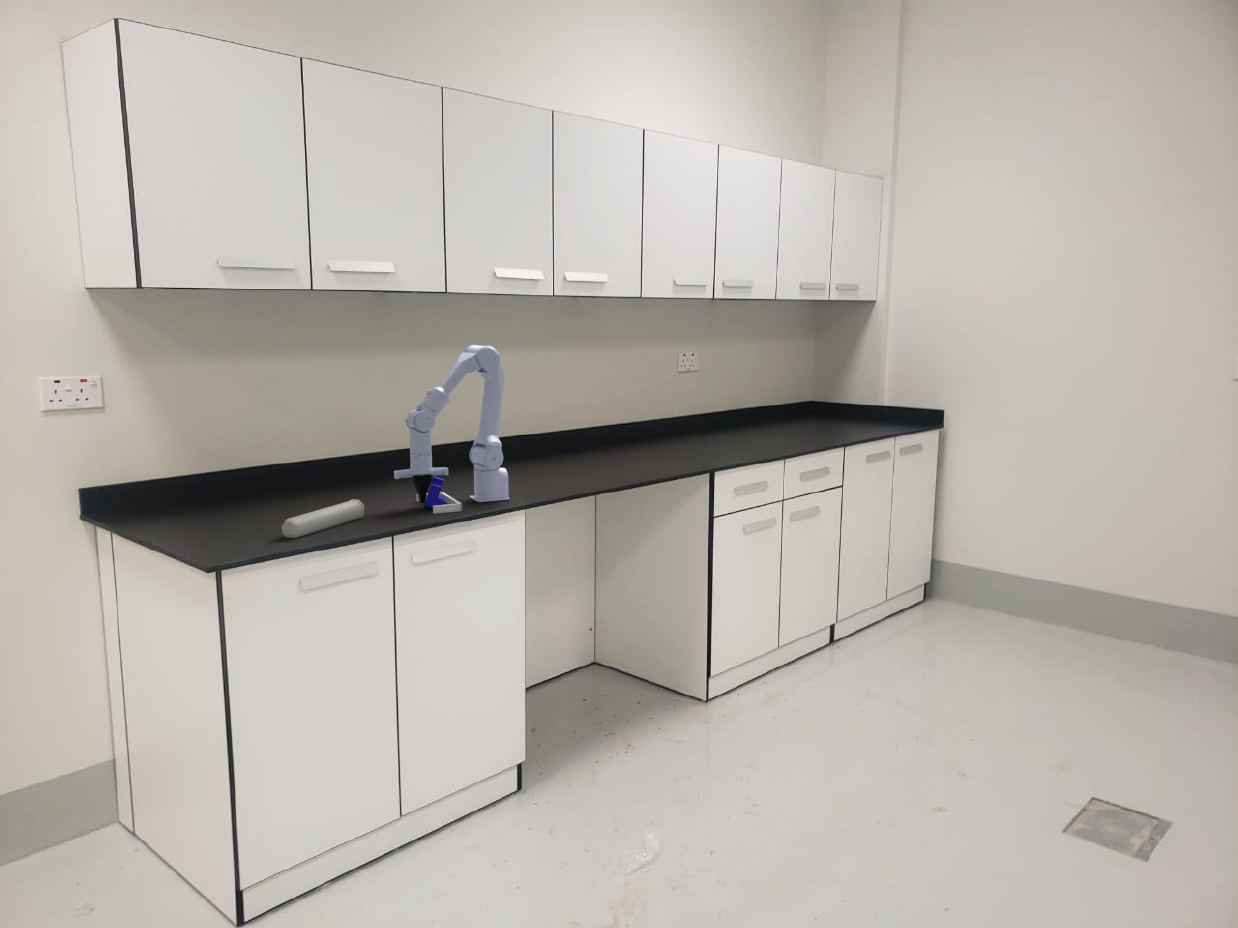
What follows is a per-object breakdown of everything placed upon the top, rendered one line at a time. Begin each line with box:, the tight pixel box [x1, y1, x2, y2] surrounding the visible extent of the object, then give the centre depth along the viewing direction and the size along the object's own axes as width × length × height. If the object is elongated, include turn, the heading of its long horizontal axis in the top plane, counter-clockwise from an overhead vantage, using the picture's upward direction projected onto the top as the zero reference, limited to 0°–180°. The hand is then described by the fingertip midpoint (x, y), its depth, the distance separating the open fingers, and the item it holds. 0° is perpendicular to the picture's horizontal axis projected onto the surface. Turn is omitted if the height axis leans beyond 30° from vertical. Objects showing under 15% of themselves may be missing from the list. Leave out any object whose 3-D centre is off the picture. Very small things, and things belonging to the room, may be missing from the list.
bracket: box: [416, 491, 463, 515], centre depth 244 cm, size 8×18×2 cm, turn 28°
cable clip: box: [423, 476, 445, 508], centre depth 245 cm, size 12×4×6 cm, turn 8°
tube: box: [280, 498, 365, 539], centre depth 218 cm, size 5×5×25 cm
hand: (422, 502), depth 242 cm, fingers closed
